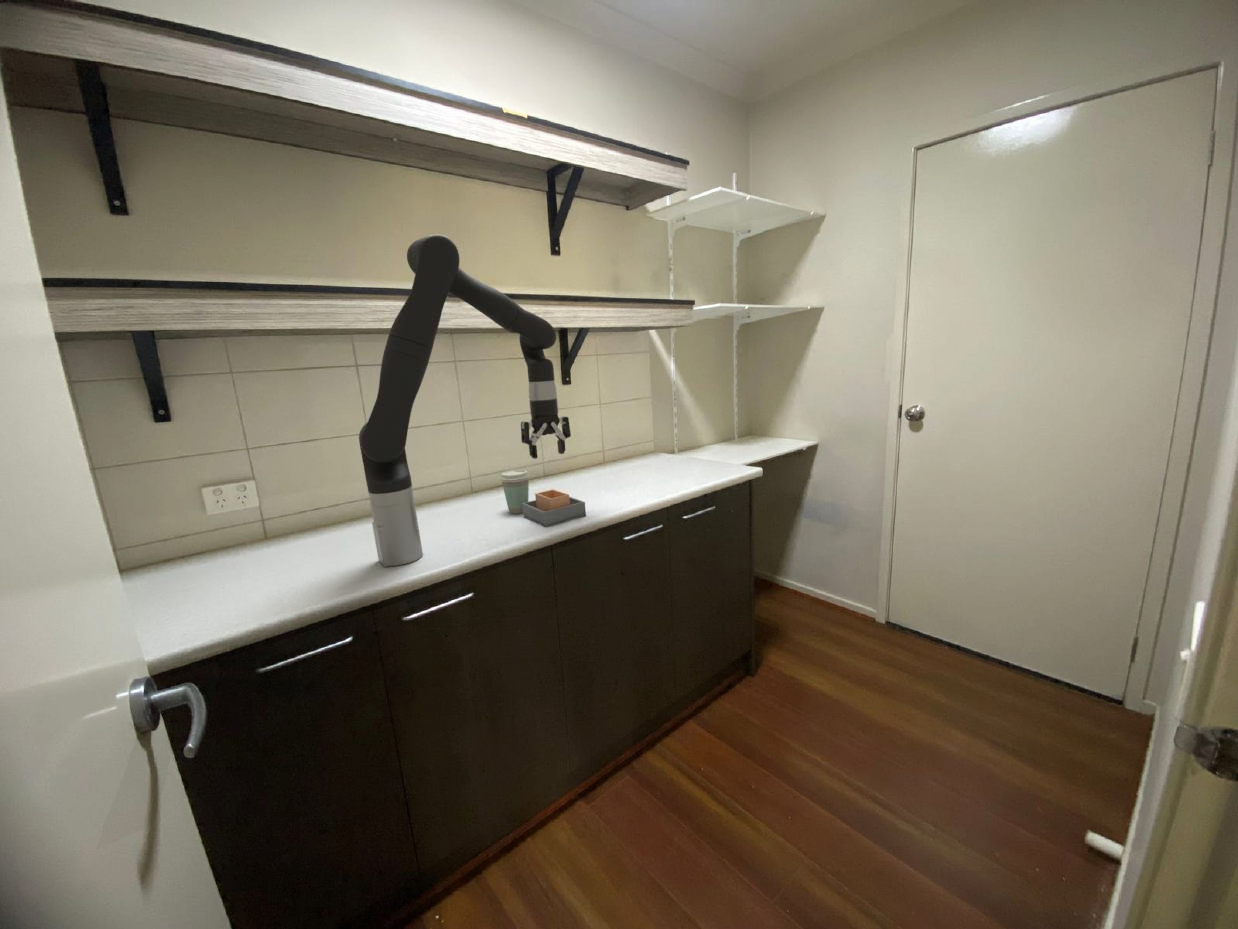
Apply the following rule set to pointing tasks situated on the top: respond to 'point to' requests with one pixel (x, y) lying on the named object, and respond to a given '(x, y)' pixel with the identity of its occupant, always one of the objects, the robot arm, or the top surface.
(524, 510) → the big crate
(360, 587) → the top surface
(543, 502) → the small crate
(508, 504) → the coffee cup
